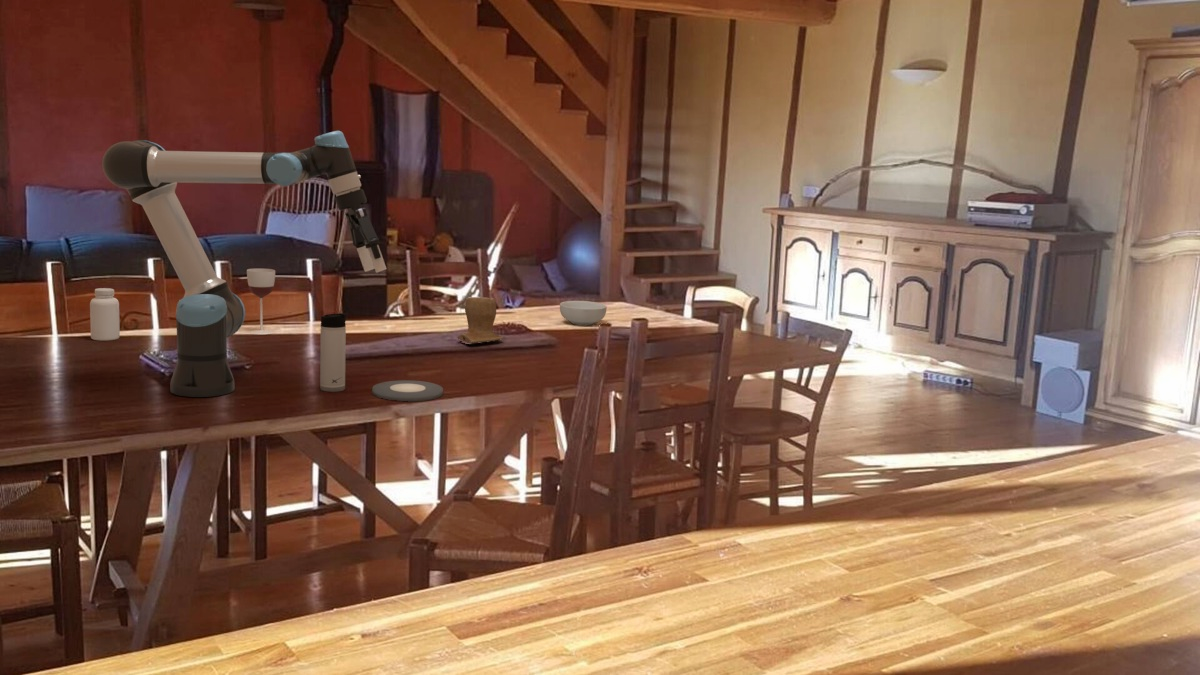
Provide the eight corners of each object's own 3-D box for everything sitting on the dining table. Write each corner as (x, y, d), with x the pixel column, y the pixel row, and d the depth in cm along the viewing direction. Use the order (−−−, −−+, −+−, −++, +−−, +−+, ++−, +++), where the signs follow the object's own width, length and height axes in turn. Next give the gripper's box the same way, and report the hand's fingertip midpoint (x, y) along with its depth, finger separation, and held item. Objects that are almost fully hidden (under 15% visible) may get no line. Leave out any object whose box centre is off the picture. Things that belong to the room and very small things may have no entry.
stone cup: (484, 337, 361) (485, 292, 359) (507, 343, 353) (509, 297, 351) (447, 341, 351) (448, 295, 348) (471, 348, 343) (472, 300, 340)
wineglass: (271, 335, 345) (270, 272, 342) (243, 333, 345) (243, 271, 342) (278, 330, 353) (278, 269, 349) (251, 329, 353) (251, 267, 349)
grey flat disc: (393, 404, 269) (393, 399, 269) (359, 389, 283) (359, 383, 283) (456, 396, 281) (456, 391, 280) (420, 382, 294) (420, 377, 294)
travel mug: (339, 393, 278) (340, 315, 274) (315, 390, 279) (316, 313, 275) (350, 387, 284) (351, 312, 280) (326, 385, 285) (327, 310, 281)
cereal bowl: (554, 325, 390) (555, 305, 388) (564, 318, 406) (564, 299, 405) (601, 329, 387) (602, 309, 386) (608, 321, 403) (610, 302, 402)
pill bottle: (125, 338, 328) (124, 289, 326) (101, 342, 322) (99, 292, 319) (109, 335, 333) (108, 286, 330) (85, 338, 326) (83, 288, 323)
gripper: (372, 184, 269) (400, 266, 273) (352, 190, 292) (378, 265, 296) (343, 193, 266) (372, 276, 270) (325, 198, 289) (352, 274, 293)
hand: (375, 270), depth 283 cm, fingers open, 13 cm apart
